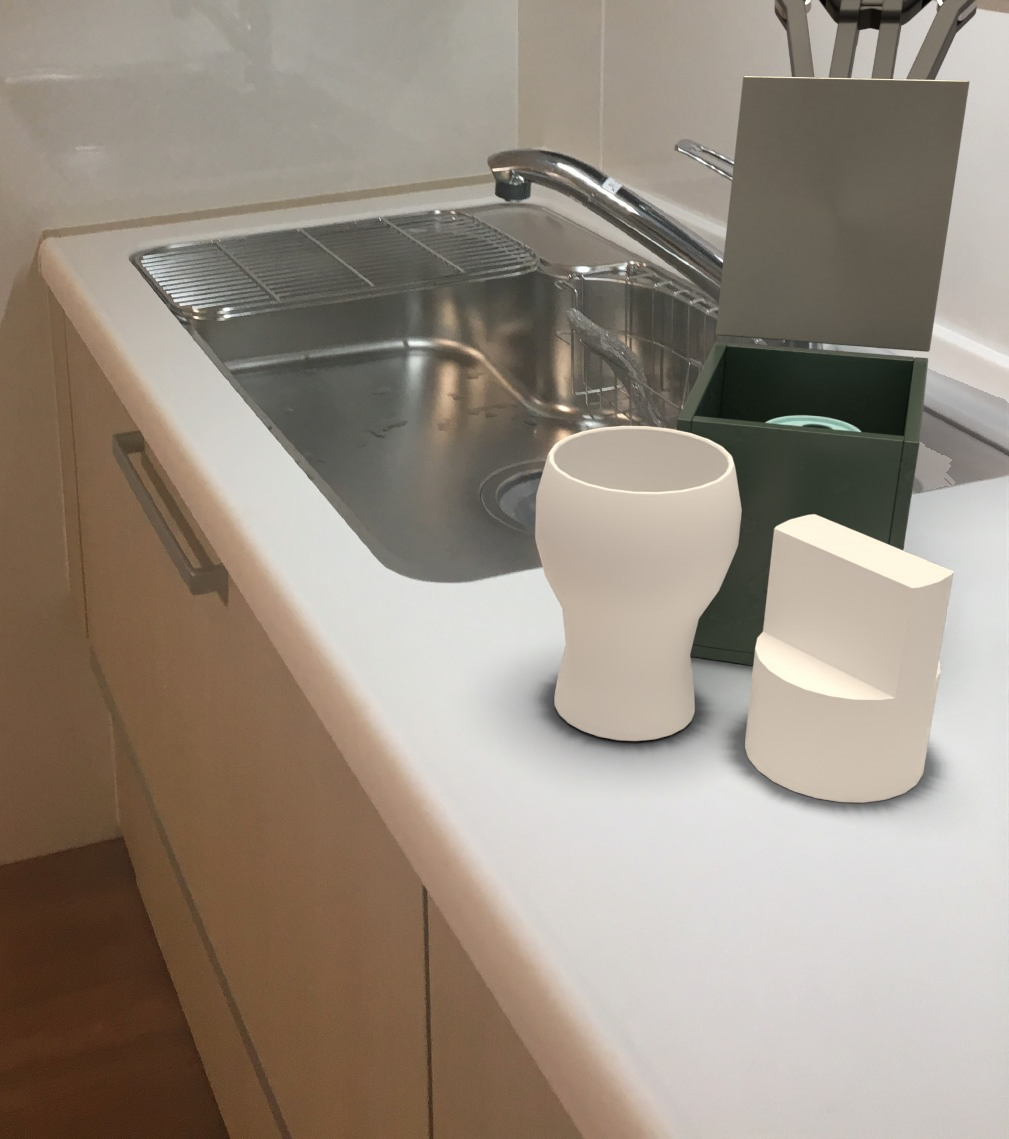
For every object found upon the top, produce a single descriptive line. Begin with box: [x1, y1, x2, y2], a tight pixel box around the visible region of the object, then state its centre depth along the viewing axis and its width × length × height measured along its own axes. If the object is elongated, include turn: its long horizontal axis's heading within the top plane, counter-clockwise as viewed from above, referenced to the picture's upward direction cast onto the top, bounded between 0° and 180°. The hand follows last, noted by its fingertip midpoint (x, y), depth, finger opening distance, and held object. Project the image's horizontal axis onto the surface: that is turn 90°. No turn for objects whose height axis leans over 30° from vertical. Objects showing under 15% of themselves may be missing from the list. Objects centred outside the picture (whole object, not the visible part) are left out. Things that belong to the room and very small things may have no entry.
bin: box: [675, 340, 929, 666], centre depth 94 cm, size 15×13×15 cm
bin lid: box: [714, 75, 970, 353], centre depth 94 cm, size 16×13×1 cm
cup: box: [534, 425, 742, 742], centre depth 84 cm, size 11×11×15 cm
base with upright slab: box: [744, 514, 954, 804], centre depth 80 cm, size 9×9×12 cm
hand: (839, 211), depth 98 cm, fingers closed
